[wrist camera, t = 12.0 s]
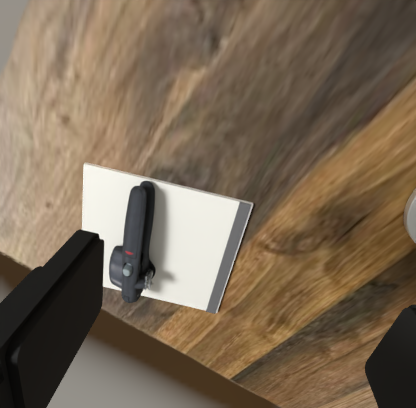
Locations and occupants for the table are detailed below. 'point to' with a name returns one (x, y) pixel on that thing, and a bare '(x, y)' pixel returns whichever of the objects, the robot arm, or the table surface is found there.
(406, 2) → the table surface
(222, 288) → the mat
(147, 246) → the can opener
